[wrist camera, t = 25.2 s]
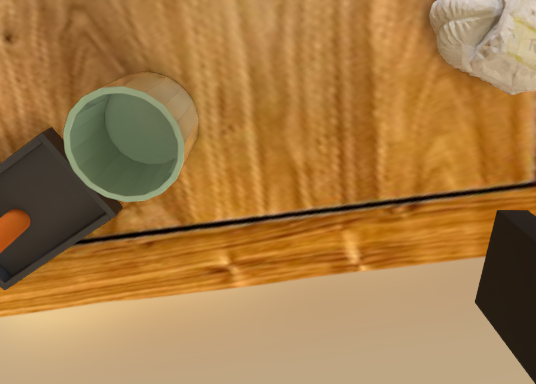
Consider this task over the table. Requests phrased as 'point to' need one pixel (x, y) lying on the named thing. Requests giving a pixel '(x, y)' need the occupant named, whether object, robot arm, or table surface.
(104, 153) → the pen cup
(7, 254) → the pen tray
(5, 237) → the marker
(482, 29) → the fossil replica
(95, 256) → the table surface
